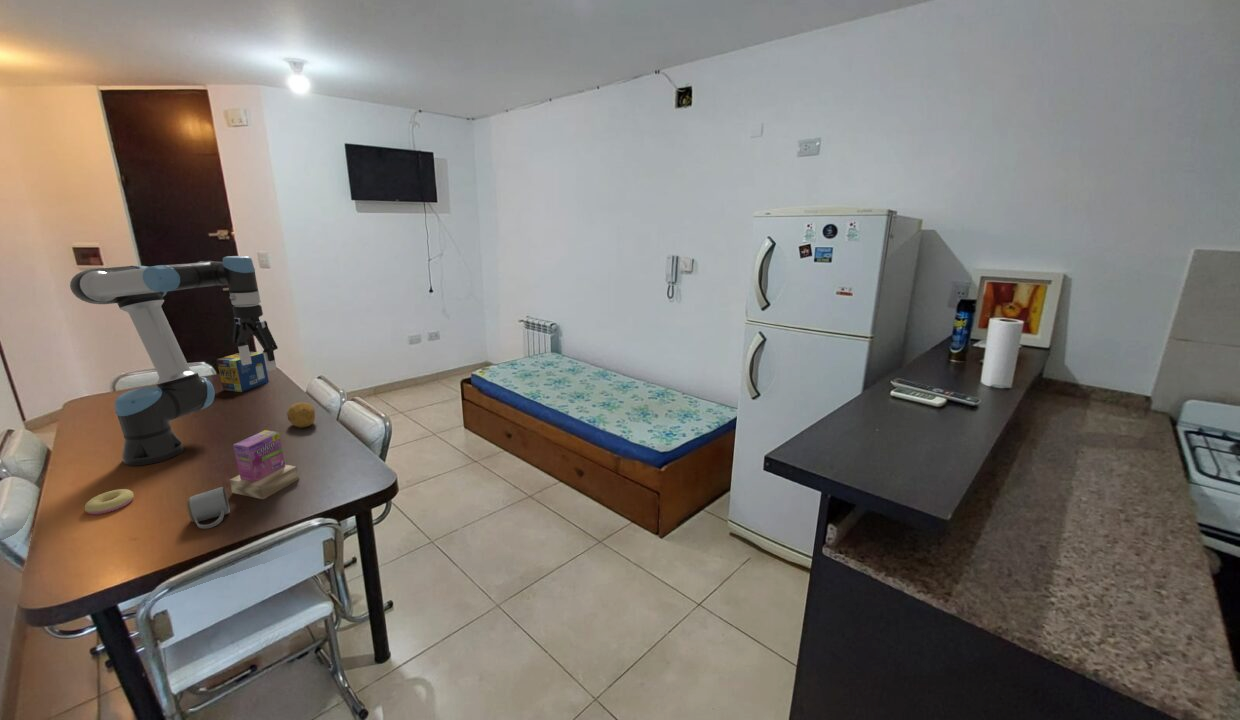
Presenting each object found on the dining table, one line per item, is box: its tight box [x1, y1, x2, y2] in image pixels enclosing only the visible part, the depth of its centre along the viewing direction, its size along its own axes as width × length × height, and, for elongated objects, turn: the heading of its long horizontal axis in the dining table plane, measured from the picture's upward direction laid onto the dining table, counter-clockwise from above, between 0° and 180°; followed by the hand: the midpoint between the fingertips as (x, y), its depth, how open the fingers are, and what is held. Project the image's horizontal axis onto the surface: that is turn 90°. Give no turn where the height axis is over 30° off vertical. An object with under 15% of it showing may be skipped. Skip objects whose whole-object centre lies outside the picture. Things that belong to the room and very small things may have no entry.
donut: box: [84, 488, 135, 515], centre depth 137 cm, size 10×5×9 cm
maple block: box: [229, 464, 300, 500], centre depth 149 cm, size 12×12×5 cm
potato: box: [286, 402, 316, 429], centre depth 191 cm, size 10×13×9 cm
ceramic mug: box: [186, 486, 231, 530], centre depth 132 cm, size 11×8×8 cm
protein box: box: [216, 351, 270, 393], centre depth 232 cm, size 10×15×16 cm
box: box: [233, 429, 286, 482], centre depth 147 cm, size 10×6×12 cm, turn 166°
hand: (259, 367), depth 161 cm, fingers open, 13 cm apart
